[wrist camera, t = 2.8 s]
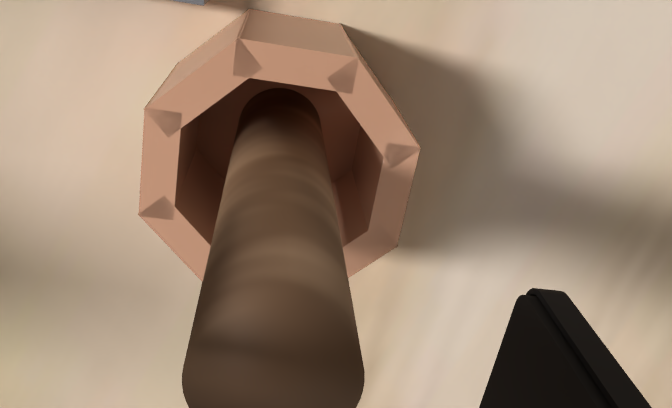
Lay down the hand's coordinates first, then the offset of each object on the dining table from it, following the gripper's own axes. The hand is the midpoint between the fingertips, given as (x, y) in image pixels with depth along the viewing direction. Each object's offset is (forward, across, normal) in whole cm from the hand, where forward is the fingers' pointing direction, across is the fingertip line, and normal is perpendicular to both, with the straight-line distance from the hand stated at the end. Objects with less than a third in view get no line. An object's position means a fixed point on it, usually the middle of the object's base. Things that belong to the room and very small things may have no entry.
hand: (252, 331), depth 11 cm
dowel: (+13, -1, +1) cm, 13 cm away
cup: (+14, -1, +1) cm, 14 cm away
